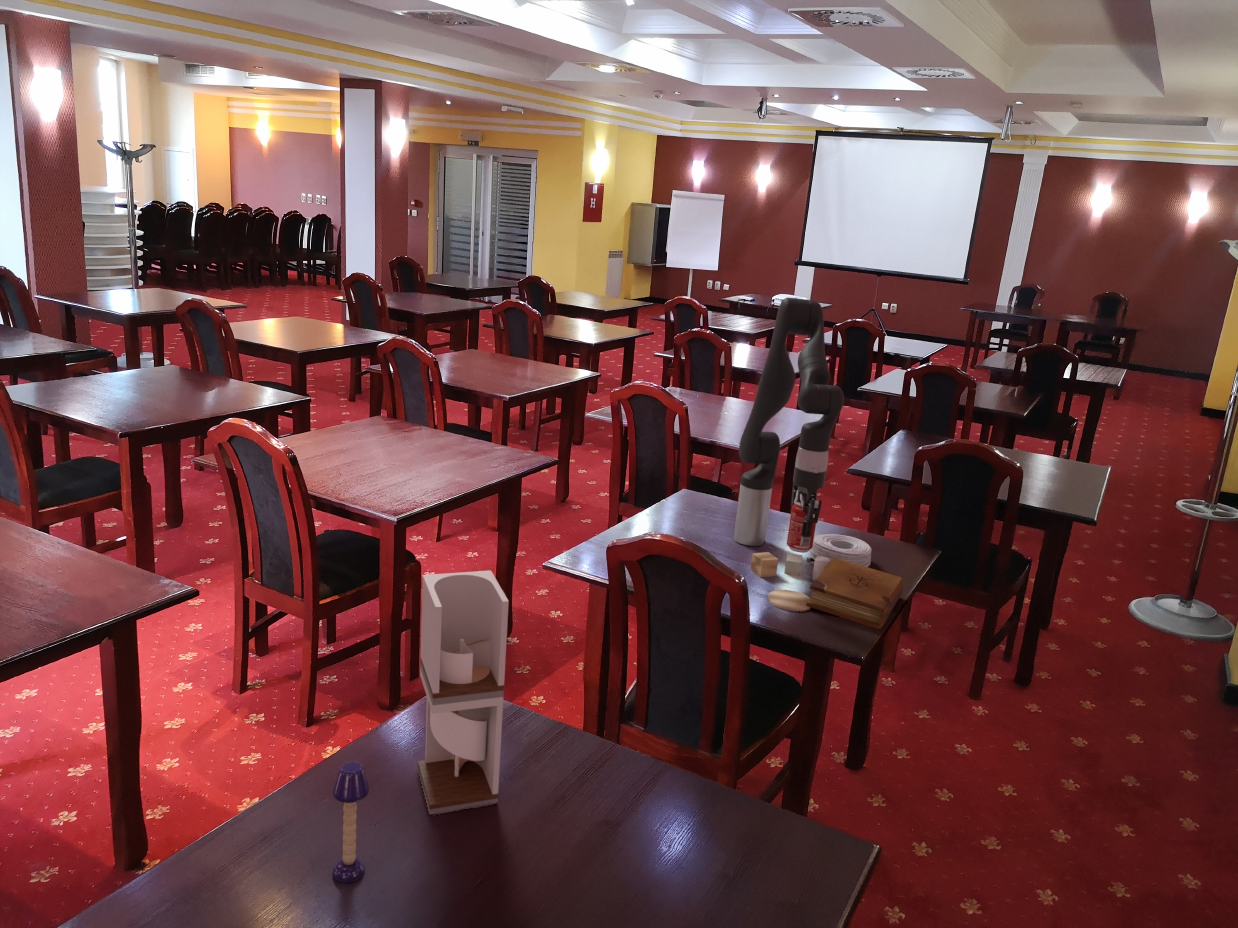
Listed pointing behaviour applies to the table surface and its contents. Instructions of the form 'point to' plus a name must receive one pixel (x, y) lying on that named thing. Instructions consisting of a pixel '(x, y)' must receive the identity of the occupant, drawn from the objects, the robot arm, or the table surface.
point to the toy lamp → (350, 819)
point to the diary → (856, 593)
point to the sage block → (793, 564)
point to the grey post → (819, 566)
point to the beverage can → (799, 531)
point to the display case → (462, 688)
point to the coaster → (789, 600)
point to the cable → (841, 549)
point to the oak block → (764, 564)
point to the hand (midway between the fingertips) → (801, 531)
